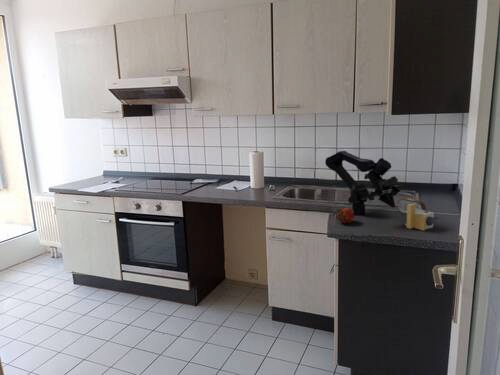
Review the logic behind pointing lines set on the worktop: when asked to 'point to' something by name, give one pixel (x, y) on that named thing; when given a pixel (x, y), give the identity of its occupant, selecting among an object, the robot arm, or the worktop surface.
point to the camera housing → (423, 213)
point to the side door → (415, 218)
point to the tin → (406, 201)
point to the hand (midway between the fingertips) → (394, 207)
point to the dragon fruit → (345, 215)
